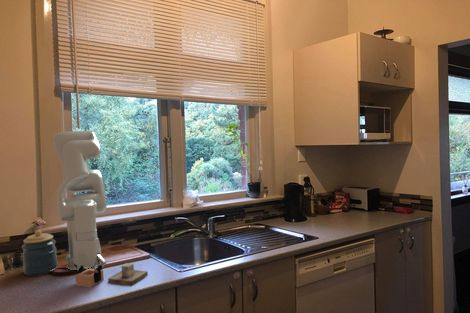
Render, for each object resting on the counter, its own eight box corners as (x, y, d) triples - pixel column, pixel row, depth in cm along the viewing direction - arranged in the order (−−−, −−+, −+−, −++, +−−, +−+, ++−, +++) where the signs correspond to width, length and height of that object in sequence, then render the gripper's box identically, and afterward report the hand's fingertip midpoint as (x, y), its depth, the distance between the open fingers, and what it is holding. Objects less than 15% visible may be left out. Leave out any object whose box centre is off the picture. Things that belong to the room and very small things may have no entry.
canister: (63, 264, 164) (60, 225, 163) (49, 275, 151) (46, 233, 150) (33, 266, 164) (30, 227, 162) (17, 277, 151) (13, 235, 150)
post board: (108, 282, 141) (107, 268, 141) (124, 272, 150) (123, 259, 150) (132, 285, 137) (131, 270, 137) (147, 275, 146) (146, 261, 146)
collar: (76, 285, 140) (75, 275, 139) (89, 278, 146) (88, 268, 146) (90, 287, 137) (90, 276, 137) (103, 279, 144) (103, 270, 143)
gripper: (61, 236, 140) (65, 282, 141) (97, 239, 134) (101, 286, 135) (76, 231, 147) (79, 274, 148) (111, 233, 141) (114, 278, 142)
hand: (90, 280), depth 142 cm, fingers closed on collar, 7 cm apart
